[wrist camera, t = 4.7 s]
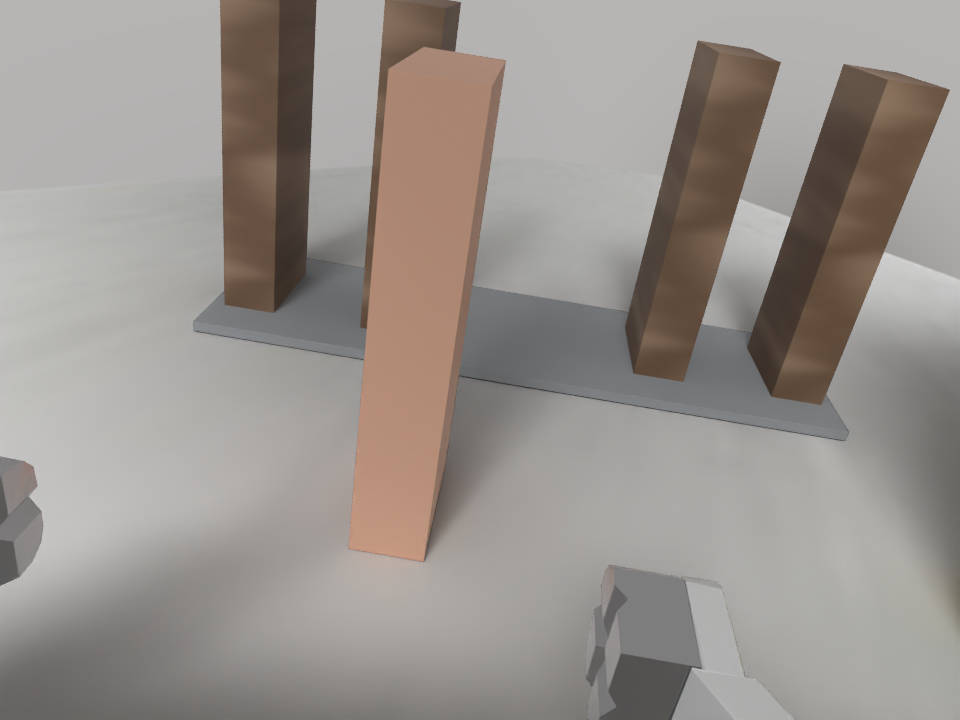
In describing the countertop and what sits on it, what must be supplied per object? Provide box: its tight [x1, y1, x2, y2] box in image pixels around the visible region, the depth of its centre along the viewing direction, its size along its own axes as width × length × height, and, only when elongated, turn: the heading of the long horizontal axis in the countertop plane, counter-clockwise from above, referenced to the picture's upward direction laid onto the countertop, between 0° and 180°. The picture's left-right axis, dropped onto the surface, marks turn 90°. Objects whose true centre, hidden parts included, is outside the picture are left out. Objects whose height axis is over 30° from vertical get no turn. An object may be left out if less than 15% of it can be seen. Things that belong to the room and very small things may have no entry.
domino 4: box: [625, 41, 781, 382], centre depth 30 cm, size 2×4×12 cm, turn 175°
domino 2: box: [360, 0, 461, 329], centre depth 30 cm, size 2×4×12 cm, turn 175°
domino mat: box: [193, 258, 849, 441], centre depth 33 cm, size 25×8×1 cm, turn 85°
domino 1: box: [220, 0, 316, 313], centre depth 30 cm, size 2×4×12 cm, turn 175°
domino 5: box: [747, 64, 950, 405], centre depth 30 cm, size 2×4×12 cm, turn 175°
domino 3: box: [349, 47, 506, 562], centre depth 19 cm, size 2×4×12 cm, turn 175°
